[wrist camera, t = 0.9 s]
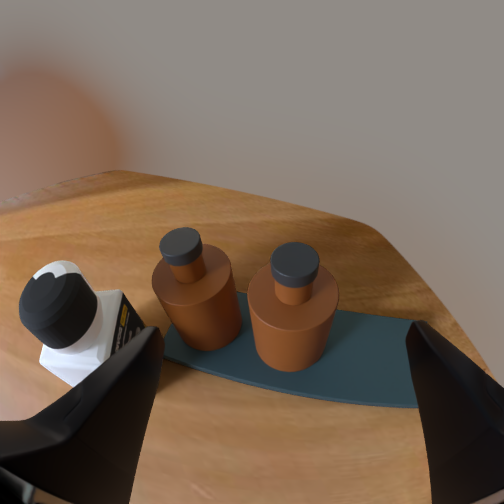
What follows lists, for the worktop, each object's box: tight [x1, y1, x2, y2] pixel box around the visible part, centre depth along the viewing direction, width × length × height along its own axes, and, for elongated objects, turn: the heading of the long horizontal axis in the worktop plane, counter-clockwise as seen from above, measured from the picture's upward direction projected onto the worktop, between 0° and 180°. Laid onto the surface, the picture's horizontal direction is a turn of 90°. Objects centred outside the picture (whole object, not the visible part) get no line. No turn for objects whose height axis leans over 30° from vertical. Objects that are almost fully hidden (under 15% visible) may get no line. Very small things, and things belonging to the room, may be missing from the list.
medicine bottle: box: [19, 261, 146, 387], centre depth 18 cm, size 7×7×12 cm
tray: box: [163, 292, 427, 408], centre depth 22 cm, size 8×24×1 cm, turn 73°
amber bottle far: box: [152, 227, 242, 351], centre depth 21 cm, size 6×6×10 cm
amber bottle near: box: [247, 242, 339, 372], centre depth 19 cm, size 6×6×10 cm
